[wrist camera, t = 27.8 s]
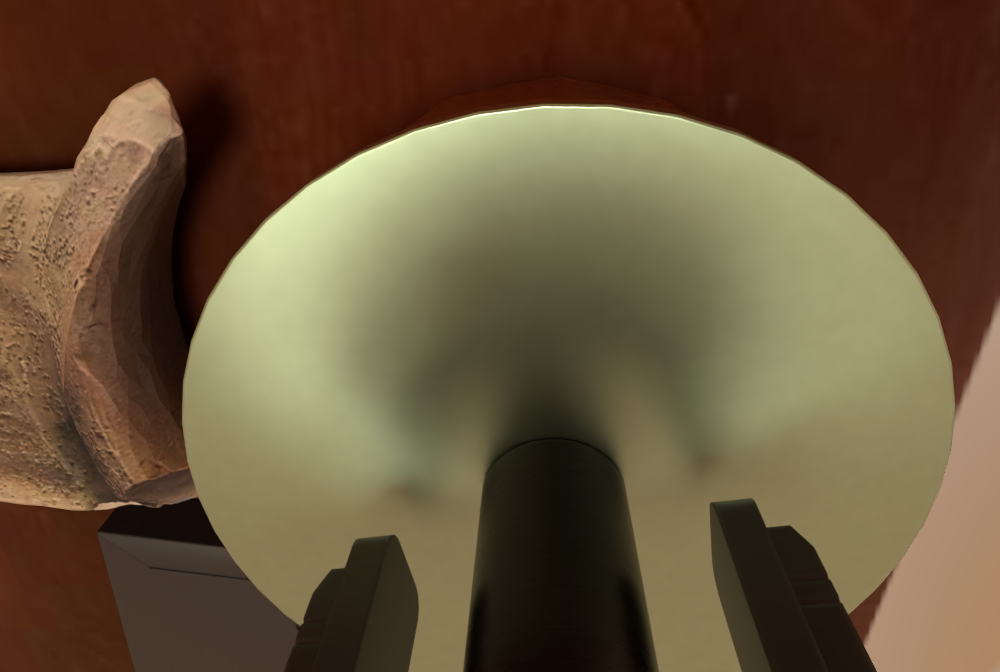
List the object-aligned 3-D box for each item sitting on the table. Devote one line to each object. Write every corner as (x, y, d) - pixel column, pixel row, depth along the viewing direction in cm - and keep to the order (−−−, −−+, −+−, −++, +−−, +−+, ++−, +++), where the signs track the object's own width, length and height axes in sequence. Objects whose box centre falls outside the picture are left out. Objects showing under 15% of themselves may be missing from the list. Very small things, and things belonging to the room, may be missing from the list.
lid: (986, 0, 9) (1859, 17, 3) (885, 650, 17) (1092, 1040, 10) (68, 182, 12) (-476, 405, 5) (334, 689, 19) (235, 1034, 13)
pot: (787, 25, 16) (965, 51, 9) (777, 469, 22) (875, 662, 16) (249, 134, 18) (85, 217, 11) (390, 512, 24) (338, 699, 18)
